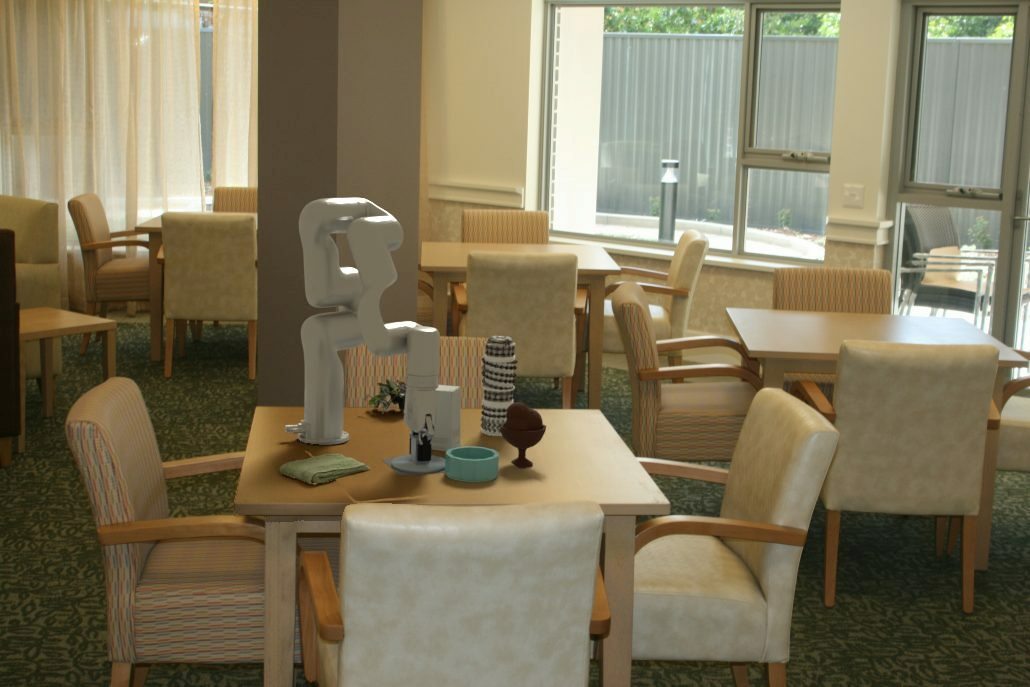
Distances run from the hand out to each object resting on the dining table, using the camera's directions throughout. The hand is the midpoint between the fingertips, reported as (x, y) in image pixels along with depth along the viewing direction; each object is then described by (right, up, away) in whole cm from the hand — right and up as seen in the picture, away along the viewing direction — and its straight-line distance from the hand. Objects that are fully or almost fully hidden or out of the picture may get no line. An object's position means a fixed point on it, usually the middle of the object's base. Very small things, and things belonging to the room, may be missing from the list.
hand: (420, 456), depth 292 cm
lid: (0, -2, 0) cm, 2 cm away
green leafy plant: (-12, +7, +51) cm, 53 cm away
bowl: (+12, -4, -5) cm, 14 cm away
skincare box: (+4, 0, +17) cm, 17 cm away
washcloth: (-21, -4, -6) cm, 22 cm away
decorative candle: (+17, +3, +36) cm, 40 cm away
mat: (0, -3, 0) cm, 3 cm away
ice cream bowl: (+24, -3, +6) cm, 24 cm away
